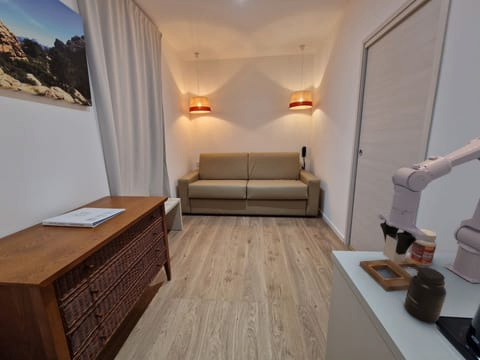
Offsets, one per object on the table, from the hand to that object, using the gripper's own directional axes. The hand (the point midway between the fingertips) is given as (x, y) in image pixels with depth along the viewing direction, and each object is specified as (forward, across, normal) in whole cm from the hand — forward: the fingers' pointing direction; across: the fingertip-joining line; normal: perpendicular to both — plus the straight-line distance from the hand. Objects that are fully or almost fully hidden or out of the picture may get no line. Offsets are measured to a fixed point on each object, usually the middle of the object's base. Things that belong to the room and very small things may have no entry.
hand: (394, 249), depth 65 cm
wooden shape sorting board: (+10, 0, +4) cm, 10 cm away
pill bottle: (+10, -6, +18) cm, 21 cm away
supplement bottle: (+10, +14, -3) cm, 17 cm away
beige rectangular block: (+3, 0, 0) cm, 3 cm away
